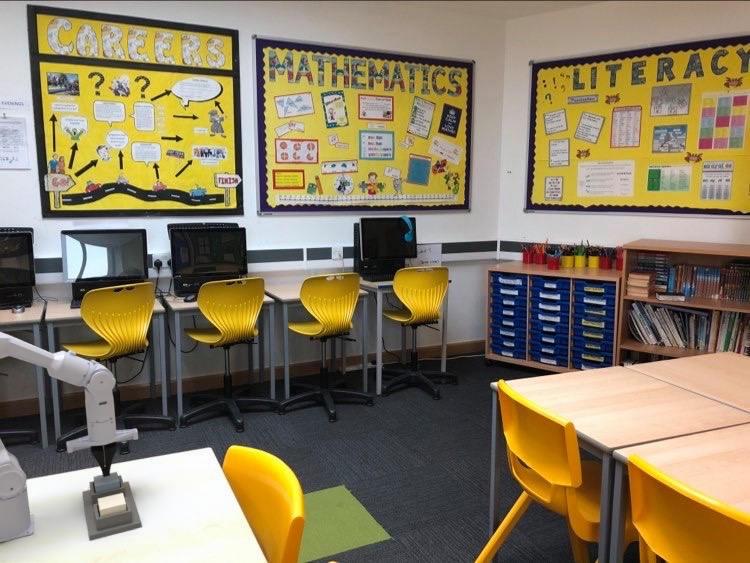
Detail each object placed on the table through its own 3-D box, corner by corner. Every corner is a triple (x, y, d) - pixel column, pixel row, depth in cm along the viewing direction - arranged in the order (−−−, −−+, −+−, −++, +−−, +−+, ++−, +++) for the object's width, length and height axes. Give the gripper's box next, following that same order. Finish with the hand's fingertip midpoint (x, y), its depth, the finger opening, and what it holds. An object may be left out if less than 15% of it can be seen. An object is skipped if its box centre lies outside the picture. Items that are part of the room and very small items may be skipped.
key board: (89, 540, 126) (88, 524, 125) (82, 495, 143) (81, 481, 142) (141, 526, 130) (140, 511, 130) (128, 485, 148) (127, 471, 147)
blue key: (96, 494, 137) (95, 486, 137) (94, 484, 142) (93, 476, 141) (120, 489, 140) (119, 480, 139) (117, 479, 144) (116, 471, 144)
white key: (100, 518, 128) (99, 509, 128) (98, 507, 132) (97, 498, 132) (126, 512, 130) (125, 503, 130) (123, 501, 135) (122, 492, 134)
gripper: (133, 405, 145) (137, 460, 147) (63, 418, 138) (69, 474, 140) (137, 416, 139) (141, 472, 141) (65, 429, 132) (71, 488, 134)
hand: (106, 474), depth 140 cm, fingers closed
